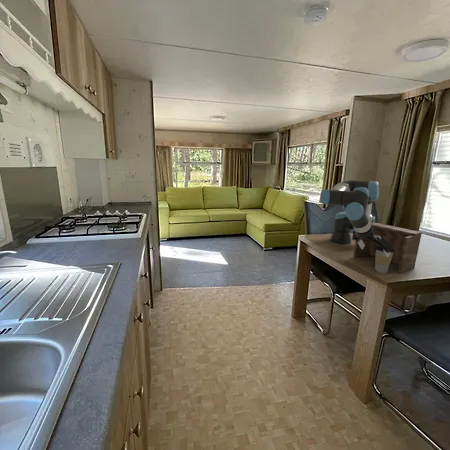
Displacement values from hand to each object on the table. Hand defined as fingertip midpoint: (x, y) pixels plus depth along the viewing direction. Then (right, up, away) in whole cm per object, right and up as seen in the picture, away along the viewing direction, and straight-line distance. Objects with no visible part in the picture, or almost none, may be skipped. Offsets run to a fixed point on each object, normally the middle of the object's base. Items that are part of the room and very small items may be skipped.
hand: (375, 251), depth 136 cm
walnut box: (+17, -10, +21) cm, 29 cm away
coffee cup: (+9, -13, +9) cm, 18 cm away
